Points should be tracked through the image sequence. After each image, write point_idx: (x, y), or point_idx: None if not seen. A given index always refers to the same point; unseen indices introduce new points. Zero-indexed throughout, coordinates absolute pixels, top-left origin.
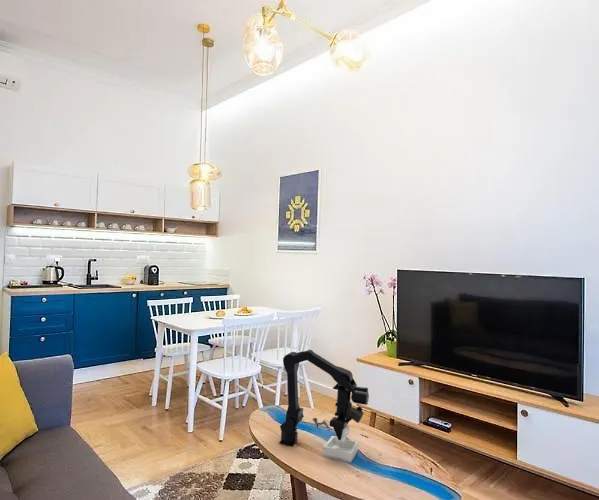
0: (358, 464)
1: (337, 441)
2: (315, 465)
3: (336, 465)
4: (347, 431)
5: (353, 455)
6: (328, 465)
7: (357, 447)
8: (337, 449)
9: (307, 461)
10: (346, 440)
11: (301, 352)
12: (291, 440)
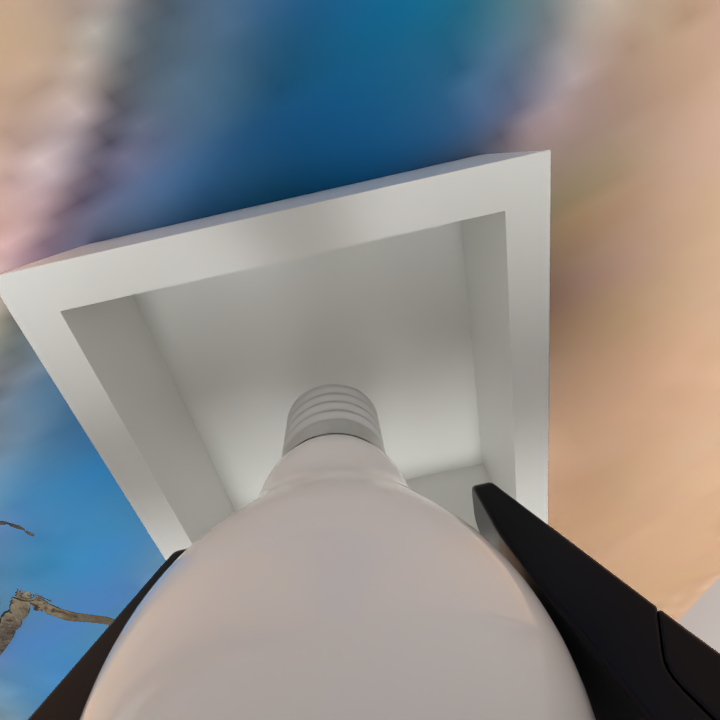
0: (456, 30)
1: (210, 518)
2: (699, 423)
3: (621, 273)
4: (434, 593)
5: (358, 185)
6: (655, 338)
7: (100, 245)
8: (534, 397)
9: (653, 498)
10: (144, 451)
11: None
12: None
